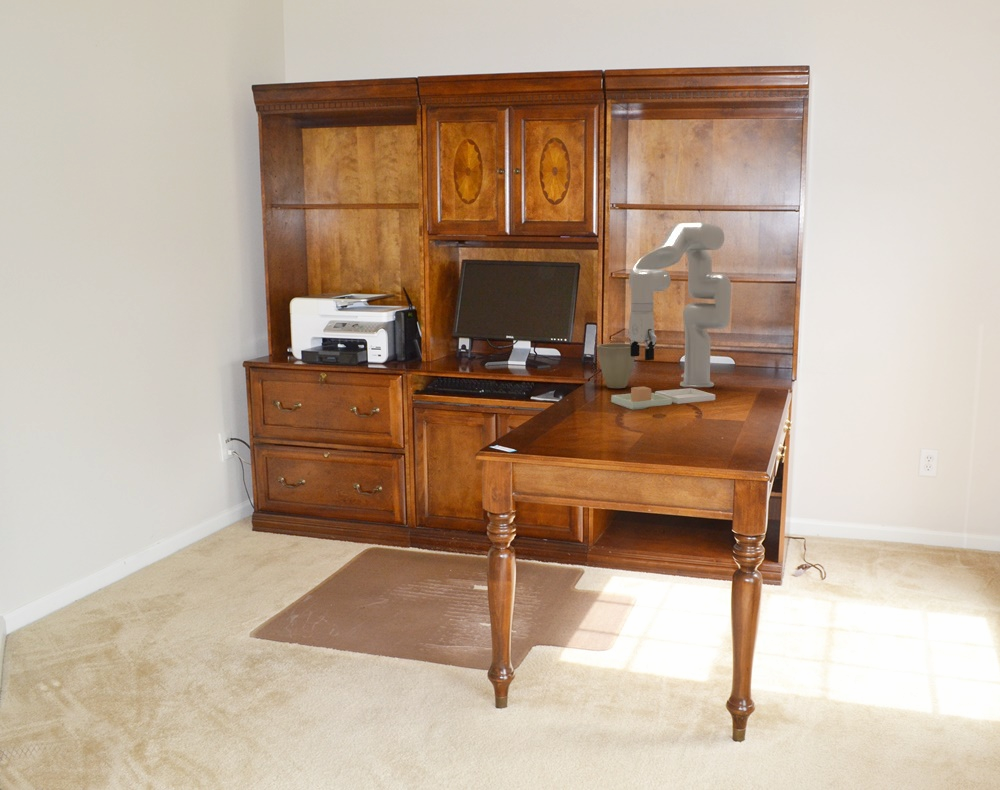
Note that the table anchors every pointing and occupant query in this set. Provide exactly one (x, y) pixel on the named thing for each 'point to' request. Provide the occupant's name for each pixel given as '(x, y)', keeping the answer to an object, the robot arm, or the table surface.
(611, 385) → the plant pot
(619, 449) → the table surface
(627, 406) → the green tray
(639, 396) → the brown cube
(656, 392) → the white tray
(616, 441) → the table surface
